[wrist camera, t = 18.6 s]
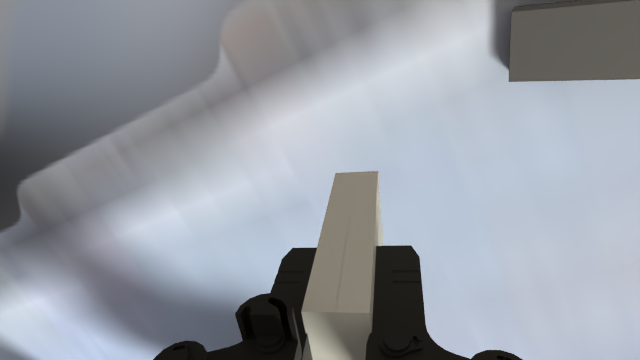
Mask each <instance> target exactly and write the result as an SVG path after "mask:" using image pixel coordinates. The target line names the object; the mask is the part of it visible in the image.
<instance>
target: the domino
mask: <svg viewBox="0 0 640 360" xmlns="http://www.w3.org/2000/svg"><path fill="white" fill-rule="evenodd" d="M617 79H640V0H579V1H569V2H559V3H549V4H539V5H529V6H519V7H515V8H514V9H513V11H512V12H511V36H510V61H509V82H518V81H567V80H617Z"/></svg>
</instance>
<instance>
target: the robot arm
mask: <svg viewBox="0 0 640 360" xmlns="http://www.w3.org/2000/svg"><path fill="white" fill-rule="evenodd" d="M382 241H383V233H382V218H381V204H380V190H379V176H378V171H372V172H350V173H336V174H335V178H334V182H333V186H332V190H331V194H330V198H329V202H328V206H327V210H326V214H325V218H324V222H323V226H322V230H321V234H320V238H319V242H318V246H317V248H292V249H291V250H290V251H289V252H288V254H287V255H286V256H285V257H284V258H283V259H282V261H281V264H280V267H279V270H278V274H277V276H276V278H275V281H274V284H273V287H272V290H271V293H268V294H261V295H258V296H255V297H253V298H250V299H249V300H247V301H246V302H245V303H244V304H242V305H241V306H240V307H239V309H238V310H237V312H236V313H235V316H236V319H237V322H238V325H239V329H240V332H241V335H242V339H243V341H242V342H240V343H238V344H236V345H233V346H230V347H227V348H223V349H219V350H215V351H211V352H206V350H205V348H204V346H203V345H201V344H199V343H198V342H196V341H183V342H179V343H175V344H173V345H171V346H169V347H167V348H166V349H164V350H163V351H162V352H161V353H159V354H158V355H157V356H156V357H155V358H154V359H153V360H522V359H520V358H519V357H517V356H516V355H514V354H511V353H508V352H504V351H501V350H486V351H483V352H480V353H477V354H475V355H474V356H473V357H472V358H471V359H469V358H466V357H462V356H459V355H456V354H453V353H451V352H449V351H446V350H444V349H443V348H441V347H440V346H438V345H437V344H436V343H435V342H434V341H433V340H432V339H431V337H430V335H429V334H428V332H427V329H426V325H425V314H424V303H423V292H422V281H421V270H420V259H419V256H418V255H417V253H416V252H415V250H414V249H413V248H412V246H382Z"/></svg>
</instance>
